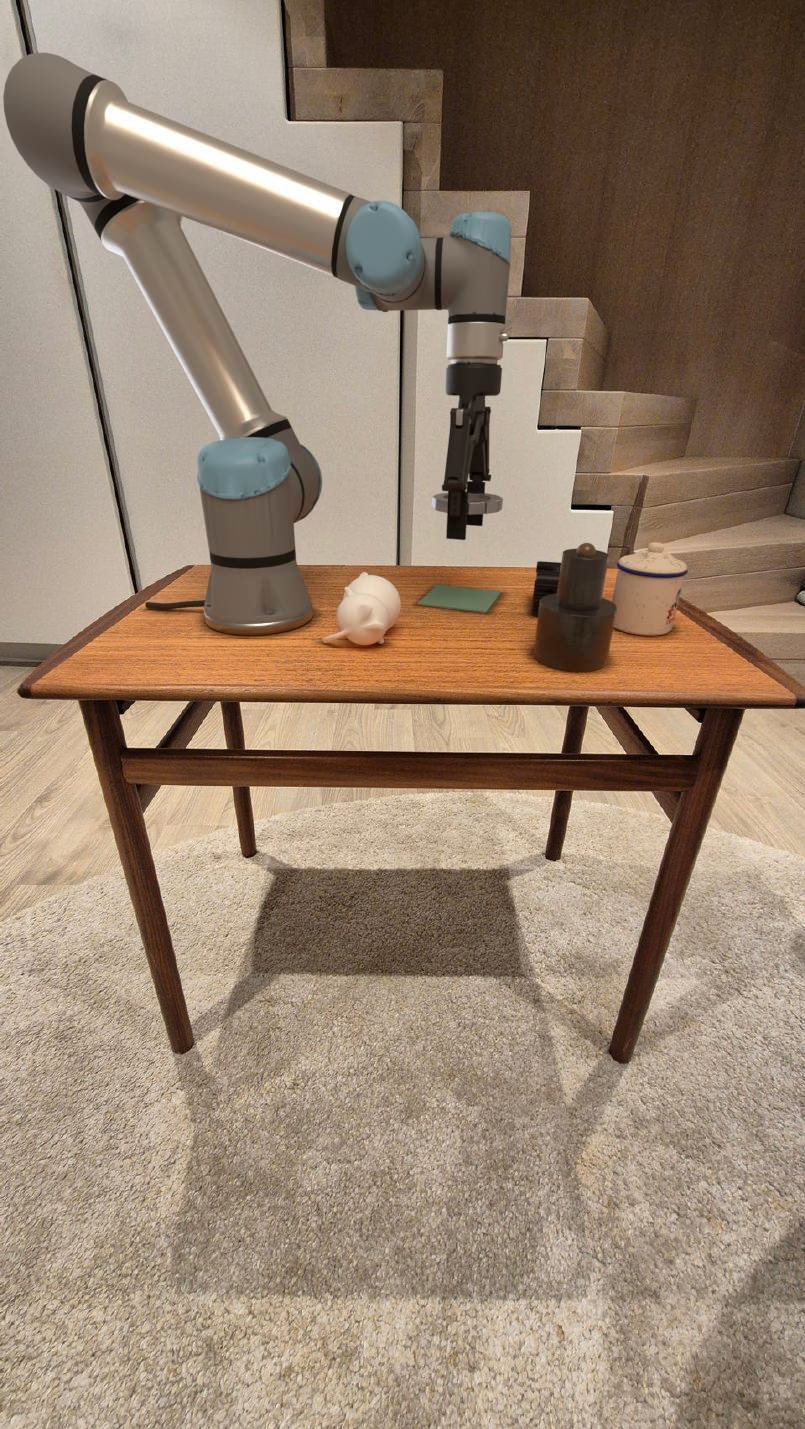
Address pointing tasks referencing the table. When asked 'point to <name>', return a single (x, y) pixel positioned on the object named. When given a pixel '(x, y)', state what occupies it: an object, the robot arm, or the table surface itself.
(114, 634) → the table surface
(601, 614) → the dark stepped cylinder
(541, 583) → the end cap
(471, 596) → the mat
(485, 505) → the segmented gray ring
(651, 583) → the teacup with lid
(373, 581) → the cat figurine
